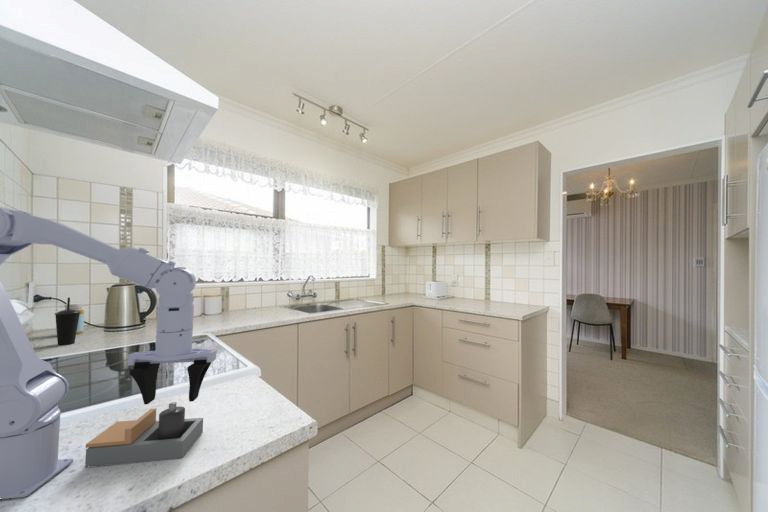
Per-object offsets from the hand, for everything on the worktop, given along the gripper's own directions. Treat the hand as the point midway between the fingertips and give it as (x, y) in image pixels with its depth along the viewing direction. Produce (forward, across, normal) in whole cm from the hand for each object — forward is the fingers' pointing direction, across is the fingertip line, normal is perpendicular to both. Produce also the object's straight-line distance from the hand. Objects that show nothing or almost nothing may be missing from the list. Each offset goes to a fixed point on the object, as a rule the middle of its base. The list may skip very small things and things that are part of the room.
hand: (171, 400), depth 54 cm
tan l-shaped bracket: (+6, +8, 0) cm, 10 cm away
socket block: (+9, +3, 0) cm, 9 cm away
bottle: (+9, +96, -104) cm, 142 cm away
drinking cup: (+9, +83, -84) cm, 118 cm away
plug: (+9, 0, 0) cm, 9 cm away
